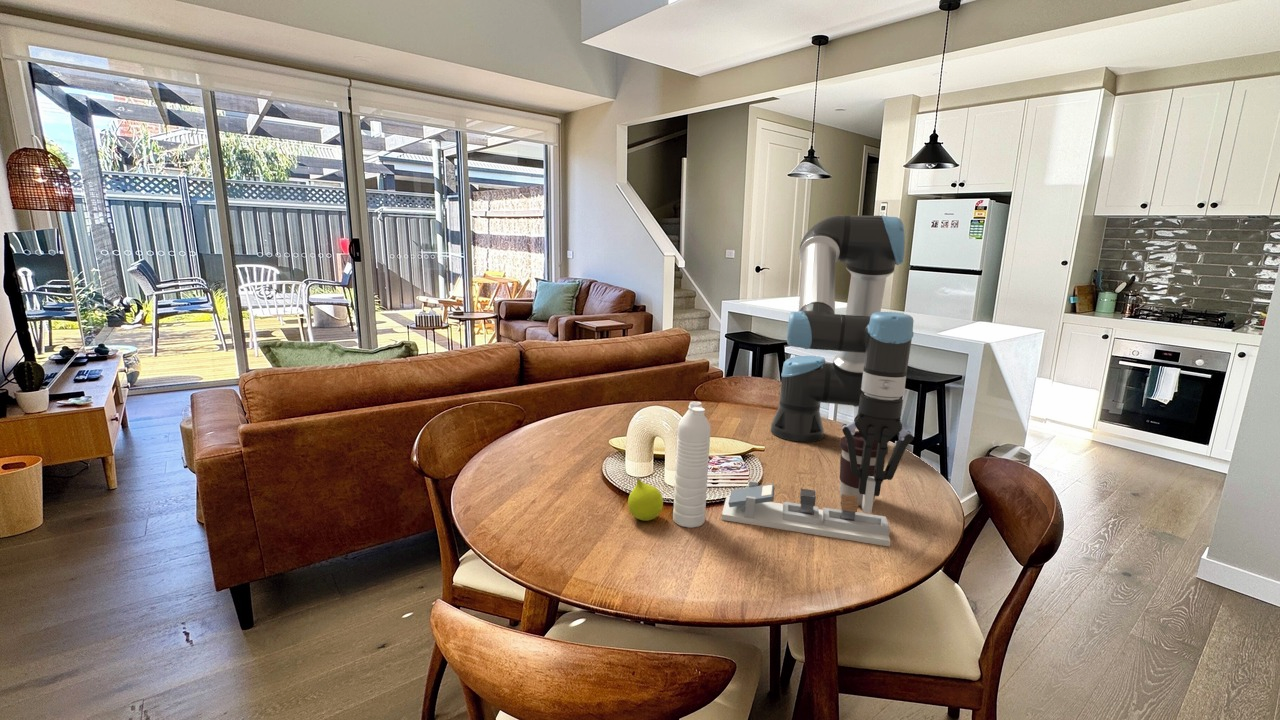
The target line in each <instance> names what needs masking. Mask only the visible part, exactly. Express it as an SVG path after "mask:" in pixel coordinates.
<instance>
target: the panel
mask: <svg viewBox="0 0 1280 720" xmlns="http://www.w3.org/2000/svg"><path fill="white" fill-rule="evenodd" d="M748 482H749V483H748V487H754V486H759V480H751V479H749V481H748ZM755 498H756V497H751V496H746V505H743V506H736V507H729V499H730V495H726V497H725V500H724V505H723V509H722V511H721V520H722V521H729V522H734V523H740V524H747V525H752V526H759V527H764V528H770V529H778V530H783V531H790V532H797V533H802V534H808V535H815V536H822V537H826V538H827V537H828V538H832V539H833V538H834V539H840V540H845V541H852V542H859V543H865V544H873V545H877V546H885V547H888V548H889V547H890V545H891V538H890V531H891V530H890V526H889V523H888V520H887V517H886V516H885V515H884V516H883V515H876V514H872V513H866V512H858V511H857V512H855V520H854V521H849V520H842V519H840V515H841V509H835V508H830V507H822V508H821V509H820V508H819V506H816V505H815V506H814V507H813V515H809V514H803V513H800V505H801V504H800V503H796V502H790V501H789V502H788V501H783V503H779V502H774V501H771V502H764V503H757V504H755Z"/></svg>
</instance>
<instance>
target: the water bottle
mask: <svg viewBox="0 0 1280 720" xmlns="http://www.w3.org/2000/svg"><path fill="white" fill-rule="evenodd" d="M705 414H706V409H705V408H703V406H702V402H701V401H693V400H692V401H689V405H688V410H686V412H685V413H684V415H683V416H682V418H681V419H680V421H679V422H678V424H677V431H676V432H677V438H676V439H677V440H676V441H677V442H676V457H675V459H676V461H675V474H674V490H673V492H674V493H673V496H674V497H673V511H672V520H673V521H674V523H675V524H677V525H678V526H680V527H683V528H684V527H686V528H687V529H689V528H690V529H691V528H692V529H693V528H699V527H700V526H702V525H703V524H705V522H706V505H707V491H708V473H709V461H710V459H709V458H710V456H709V455H710V442H711V432H712V431H711V430H712V429H711V424H710V422H709V420H708V418H707V416H706V415H705Z"/></svg>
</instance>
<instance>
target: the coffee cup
mask: <svg viewBox="0 0 1280 720" xmlns="http://www.w3.org/2000/svg"><path fill="white" fill-rule="evenodd" d="M853 439H854V444H855V451H856V458H857V465H858V468H860V469H861V461H862V453H863V446H864V438H863V437H862V435H861V434H860V432H859V431H858V430H855V434H854V435H853ZM877 447H878V442H873V447H872V451H871V459H870V466H869V474H868V476H873V477H874V470H875V463H876V455H877ZM839 448H840V449H841V453H840V463H839V480H840V484H839V485H840V487H839V496H840V497H841V495H842V494H844V495H851V496H856V497H857V501H858V507H859V506H861V507H862V501H863V494H860V493H859V489H858V487H859V479H860V477H858V476H854V475H853V474H852V471H851V466H850V459H849V452H848V445H847V438H846V437H845V435H844V436H842V437H840V438H839ZM888 451H889V445H887V449H886V456H887V455H888V454H889V453H888ZM875 499H876V496H874V498H873V503H875Z"/></svg>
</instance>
